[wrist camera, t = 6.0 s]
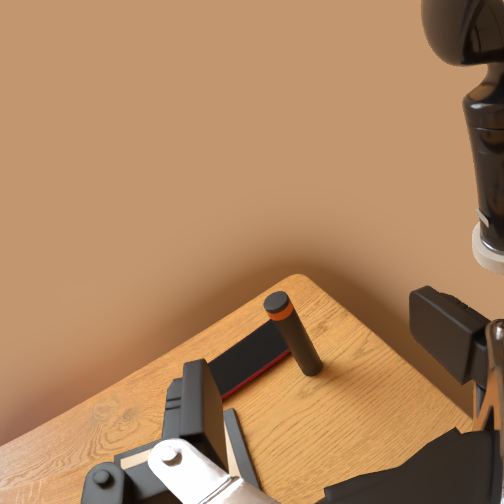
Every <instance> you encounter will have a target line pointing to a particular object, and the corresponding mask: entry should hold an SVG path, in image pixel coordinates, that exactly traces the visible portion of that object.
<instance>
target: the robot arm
mask: <svg viewBox="0 0 504 504" xmlns="http://www.w3.org/2000/svg"><path fill="white" fill-rule="evenodd" d="M421 18H422V24H423V28H424V33H425V35H426V39H427V41H428V43H429V45H430V47H431V48H432V50H433V51H434V53H435V54H436V55H437V56H438V57H439V58H440V59H441V60H442V61H444V62H446V63H447V64H450V65H453V66H461V67H467V66H474V65H481V64H487V66H488V71H487V74H486V77H485V78H484V79H483V81H482V82H481V83H480V84H479V85H478V86H477V87H476V88H474V89H473V90H472V91H470V92H469V93H468V94H467V95H466V96H465V97H464V98H463V102H462V106H463V111H464V115H465V120H466V124H467V129H468V134H469V139H470V144H471V150H472V155H473V162H474V169H475V176H476V184H477V193H478V203H479V210H478V209H477V215H478V216H479V218H480V240H481V242H482V244H483V245H484V246H485V247H486V248H487V249H488V250H490V251H491V252H493V253H496V254H499V255H503V256H504V1H503V0H422V1H421ZM409 309H410V310H409V311H410V312H409V313H410V331H411V333H412V335H413V337H414V339H415V340H416V341H417V342H418V343H419V344H420V345H421V346H422V347H423V348H425V350H427V352H429V353H430V354H431V355H432V356H433V357H434V358H435V359H436V360H437V361H438V362H439V363H440V364H441V365H442V366H443V367H444V368H445V369H446V370H447V371H448V372H449V373H450V374H451V375H452V376H453V377H454V378H455V379H456V380H457V381H458V382H459V383H460V384H461V385H464V384H465V383H467V382H468V381H470V380H472V379H473V380H474V381H475V384H474V388H473V390H474V391H473V392H474V412H473V429H472V432H467V433H463V434H461V433H460V432H459V430H458V429H457V428H456V427H455V428H453V429H451V430H450V431H448V432H446V433H445V434H443V435H441V436H440V437H438V438H436V439H434V440H433V441H431V442H429V443H427V444H426V445H425V446H424V447H423V448H422V449H420V450H419V451H418V452H417V453H416V454H414V455H413V456H412V457H411V458H410V459H408V460H407V461H406V462H405V463H403V464H402V465H401V466H399V467H396V468H392V469H387V470H383V471H378V472H373V473H368V474H363V475H359V476H356V477H354V478H351V479H348V480H346V481H343V482H340V483H337V484H334V485H331V486H328V487H325V488H324V493H325V497H324V498H322V499H321V500H319V501H318V502H316V503H315V504H504V319H497V320H493V321H490V320H489V319H487V318H485V317H484V316H483V315H481V314H480V313H478V312H477V311H475V310H474V309H472V308H470V307H468V305H466V304H464V303H462V302H461V301H460V300H459V299H457V298H455V297H454V296H452V295H448V294H445V293H439V292H437V291H436V290H435V289H433V288H432V287H430V286H425V287H422V288H420V289H417V290H415V291H412V292H411V293H410V296H409ZM81 504H281V503H279V502H278V501H276V500H275V499H273V498H271V497H270V496H268V495H267V494H265V493H264V492H262V491H260V490H259V489H257V488H256V487H254V486H253V485H251V484H250V483H249V482H247V481H246V480H244V479H243V478H241V477H239V476H234V477H232V476H230V475H229V466H228V457H227V448H226V438H225V427H224V417H223V406H222V400H221V396H220V393H219V390H218V387H217V385H216V383H215V381H214V378H213V376H212V374H211V371H210V369H209V367H208V364H207V362H206V360H205V359H204V358H203V359H199V360H195V361H191V362H186V363H184V366H183V377H182V378H178V379H174V380H173V382H172V383H171V385H170V386H169V388H168V389H167V396H166V404H165V412H164V421H163V429H162V439H161V442H160V443H159V444H157V445H156V446H155V447H154V448H153V449H152V450H151V452H150V454H149V457H148V460H147V461H145V462H143V463H141V464H138V465H135V466H132V467H130V468H127V469H124V470H123V469H122V467H121V466H119V465H118V464H116V463H113V462H103V463H100V464H98V465H96V466H94V467H93V468H92V469H91V470H90V471H89V472H88V474H87V475H86V478H85V482H84V487H83V493H82V498H81Z"/></svg>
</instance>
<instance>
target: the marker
mask: <svg viewBox="0 0 504 504" xmlns="http://www.w3.org/2000/svg"><path fill="white" fill-rule="evenodd" d="M263 306H264V308H265V310H266V312H267V314H268V315H269V317H270V318H271V320H272V322H273V323H274V325H275V327H276V328H277V330H278V332H279V333H280V335H281V337H282V338H283V340H284V342H285V343H286V345H287V347H288V348H289V350H290V352H291V353H292V355H293V357H294V358H295V360H296V362H297V363H298V365H299V367H300V368H301V370H302V372H303V373H304V374H305V375H306V376H314V375H316V374H318V373H319V372H320V371H321V370H322V367H323V364H322V362H321V360H320V358H319V356H318V354H317V352H316V350H315V348H314V346H313V344H312V342H311V340H310V338H309V336H308V334H307V332H306V330H305V328H304V326H303V324H302V322H301V320H300V318H299V316H298V314H297V313H296V311H295V309H294V307H293V304H292V302H291V300H290V299H289V297H288V295H287V294H286V293H285V292H283V291H278V292H274V293H272V294H270V295H269V296H268V297H267V298H266V299H265V301H264V304H263Z"/></svg>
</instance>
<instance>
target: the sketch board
mask: <svg viewBox="0 0 504 504" xmlns="http://www.w3.org/2000/svg"><path fill="white" fill-rule="evenodd" d="M223 417H224V427H225V438H226V448H227V457H228V466H229V475H230V476H232V477H234V476H239V477H241V478H243V479H244V480H246V481H247V482H249V483H250V484H251V485H253V486H254V487H256V488H257V489H259V490H260V491H262V489H261V486H260V483H259V481H258V478H257V475H256V472H255V469H254V467H253V464H252V461H251V458H250V455H249V452H248V449H247V446H246V443H245V440H244V437H243V434H242V431H241V428H240V425H239V422H238V419H237V416H236V413H235V410H234V409H233V408H230V409H228V410H226V411H224V412H223ZM160 442H161V439H159V440H157V441H154V442H151V443H149V444H146V445H143V446H141V447H138V448H135V449H132V450H129V451H126V452H124V453H121V454H118V455H115V456H114V463H116V464H118V465H119V466H121V467H122V469H123V470H124V469H127V468H130V467H132V466H135V465H138V464H141V463H143V462H145V461H147V460H148V457H149V454H150V452H151V450H152V449H153V448H154V447H155V446H156V445H157V444H159V443H160Z"/></svg>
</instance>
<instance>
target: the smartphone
mask: <svg viewBox="0 0 504 504" xmlns="http://www.w3.org/2000/svg"><path fill="white" fill-rule="evenodd" d="M289 352H290V350H289V348H288V347H287V345H286V343H285V342H284V340H283V338H282V337H281V335H280V333H279V332H278V330H277V328H276V327H275V325H274V323H273V322H272V320H271V319H270V320H268V321H267V322H266V323H264V324H263V325H262V326H260V327H259V328H257V329H256V330H255V331H253V332H252V333H250V334H249V335H248V336H246V337H245V338H244V339H242V340H241V341H239V342H238V343H236V344H235V345H234V346H232V347H231V348H229V349H228V350H227V351H225V352H224V353H222V354H221V355H219V356H218V357H216V358H215V359H214V360H212V361H211V362H209V363H208V367H209V369H210V371H211V374H212V376H213V378H214V381H215V383H216V385H217V387H218V390H219V393H220V396H221V400H223V399H224V398H226V397H227V396H229V395H230V394H232V393H233V392H235V391H236V390H238V389H239V388H241V387H242V386H244V385H245V384H246V383H248V382H249V381H251V380H252V379H254V378H255V377H256V376H258V375H259V374H261V373H262V372H263V371H265V370H266V369H268V368H269V367H270V366H272V365H273V364H274V363H276V362H277V361H278V360H280V359H281V358H282V357H284V356H285V355H286V354H288V353H289Z"/></svg>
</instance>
